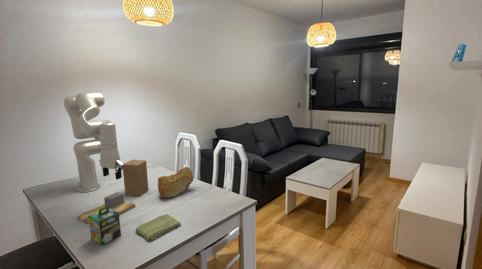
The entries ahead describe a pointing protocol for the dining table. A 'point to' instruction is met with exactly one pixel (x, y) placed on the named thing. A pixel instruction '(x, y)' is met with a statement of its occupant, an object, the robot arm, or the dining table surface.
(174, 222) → the washcloth
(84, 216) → the board
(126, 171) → the wooden block
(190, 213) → the dining table surface
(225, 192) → the dining table surface
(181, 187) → the rough brown rock
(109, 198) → the block
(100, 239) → the chalk box
